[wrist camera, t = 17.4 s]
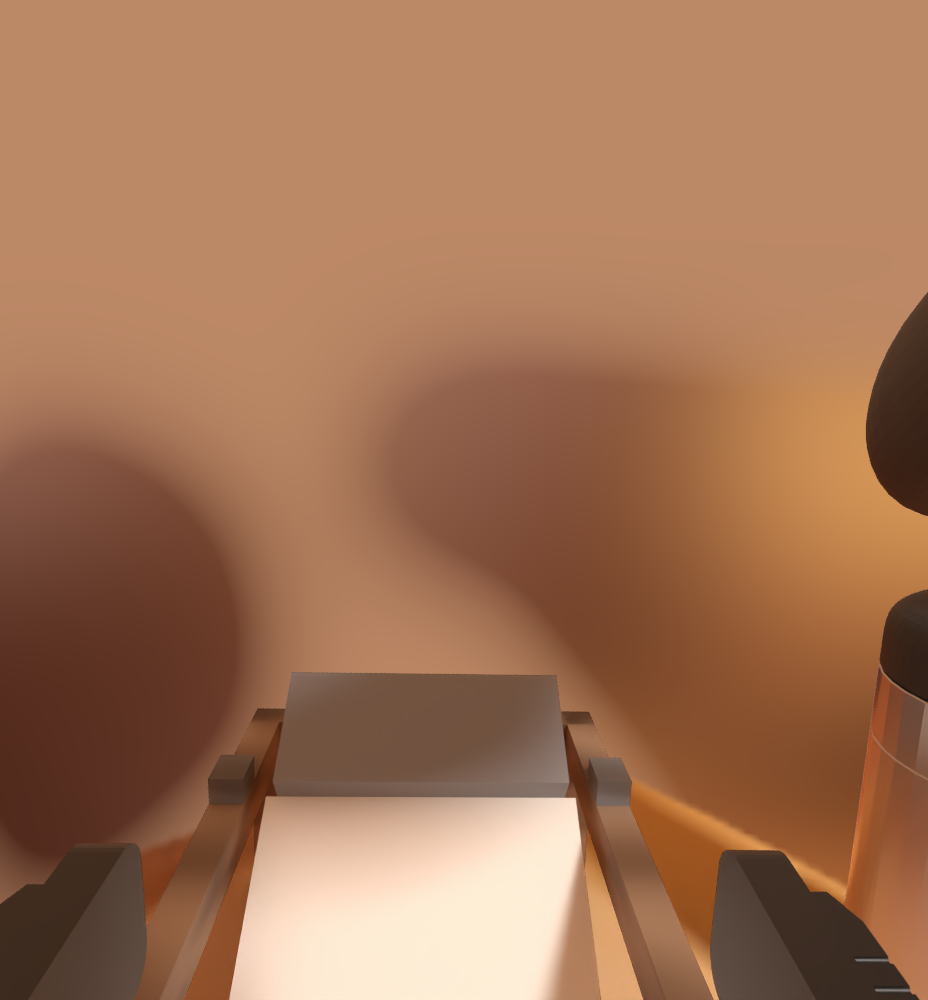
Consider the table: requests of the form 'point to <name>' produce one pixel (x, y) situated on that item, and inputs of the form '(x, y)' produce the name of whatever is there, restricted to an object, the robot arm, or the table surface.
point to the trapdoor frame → (249, 779)
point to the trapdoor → (419, 846)
